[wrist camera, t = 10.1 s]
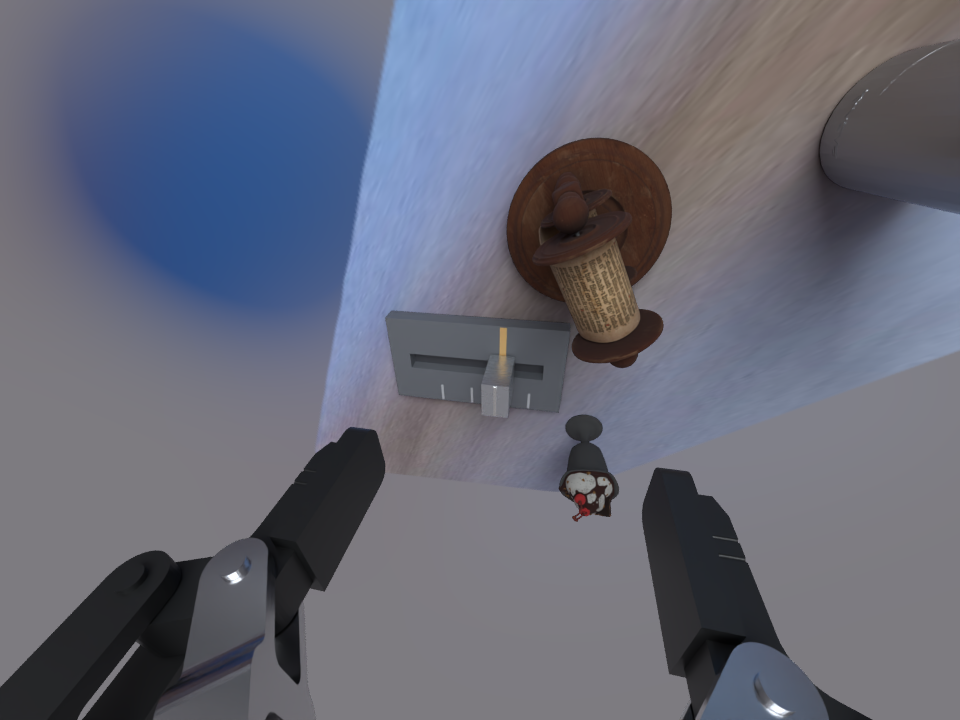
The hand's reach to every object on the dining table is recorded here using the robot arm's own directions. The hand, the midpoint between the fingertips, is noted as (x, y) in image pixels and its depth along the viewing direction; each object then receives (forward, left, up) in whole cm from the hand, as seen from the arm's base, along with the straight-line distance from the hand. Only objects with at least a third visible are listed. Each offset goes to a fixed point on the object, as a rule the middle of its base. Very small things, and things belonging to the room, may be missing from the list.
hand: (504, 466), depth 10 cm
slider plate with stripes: (+7, +17, -31) cm, 36 cm away
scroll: (-4, 0, -32) cm, 32 cm away
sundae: (-8, +27, -32) cm, 42 cm away
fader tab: (+4, +17, -31) cm, 36 cm away
